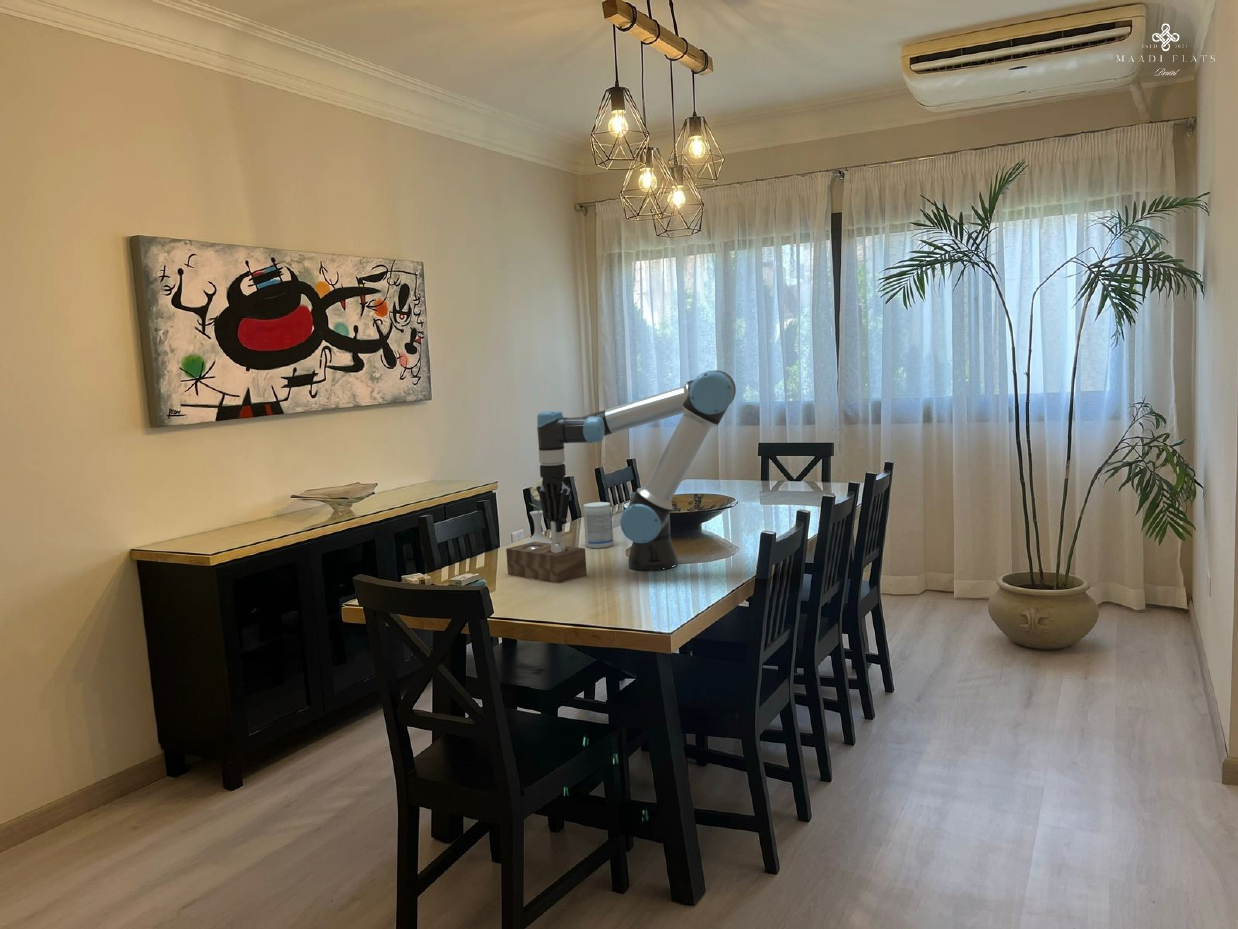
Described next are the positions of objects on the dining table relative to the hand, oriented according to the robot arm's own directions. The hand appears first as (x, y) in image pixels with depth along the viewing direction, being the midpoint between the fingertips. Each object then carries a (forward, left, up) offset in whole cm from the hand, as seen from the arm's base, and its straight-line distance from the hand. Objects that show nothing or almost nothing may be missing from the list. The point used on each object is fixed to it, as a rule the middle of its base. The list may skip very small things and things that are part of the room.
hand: (556, 542), depth 271 cm
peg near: (0, 0, -8) cm, 8 cm away
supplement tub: (+20, -39, -11) cm, 45 cm away
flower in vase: (+31, -22, -11) cm, 40 cm away
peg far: (+11, 0, -11) cm, 15 cm away
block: (+5, 0, -10) cm, 12 cm away
